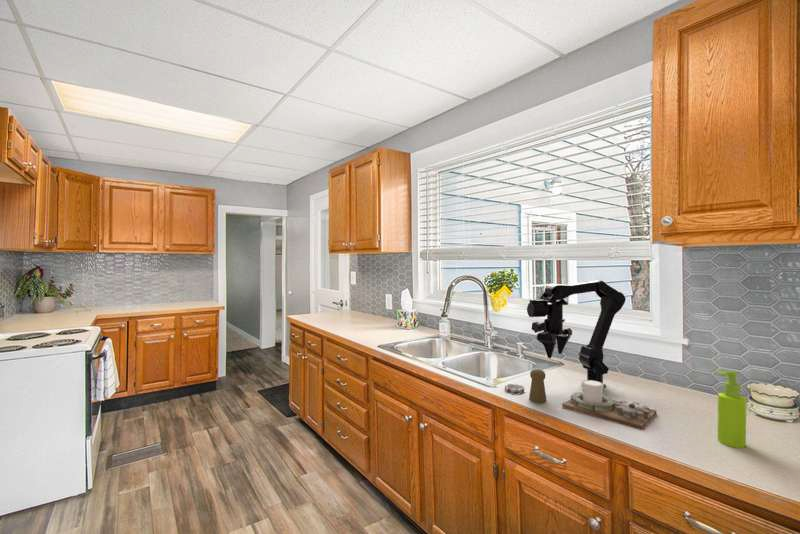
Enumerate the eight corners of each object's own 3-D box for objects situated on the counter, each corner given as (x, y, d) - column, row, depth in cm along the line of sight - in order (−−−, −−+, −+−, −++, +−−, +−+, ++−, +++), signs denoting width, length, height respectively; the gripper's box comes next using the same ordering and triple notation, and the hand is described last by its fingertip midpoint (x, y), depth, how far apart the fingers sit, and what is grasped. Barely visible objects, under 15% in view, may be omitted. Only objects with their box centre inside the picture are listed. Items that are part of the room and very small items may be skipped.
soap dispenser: (708, 438, 108) (709, 368, 107) (731, 437, 108) (731, 367, 108) (728, 448, 102) (729, 375, 101) (751, 447, 102) (752, 374, 102)
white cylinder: (578, 403, 131) (578, 383, 131) (585, 397, 136) (585, 378, 136) (600, 408, 126) (600, 387, 126) (606, 402, 131) (606, 382, 131)
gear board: (580, 395, 142) (581, 384, 142) (656, 414, 124) (656, 402, 124) (562, 407, 131) (562, 395, 131) (642, 429, 113) (642, 416, 113)
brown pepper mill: (548, 404, 134) (548, 373, 133) (530, 402, 135) (530, 372, 135) (545, 397, 140) (545, 368, 139) (527, 396, 141) (527, 367, 141)
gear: (507, 386, 152) (506, 382, 152) (525, 389, 149) (525, 385, 149) (503, 392, 146) (503, 388, 146) (522, 395, 143) (522, 391, 142)
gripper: (545, 311, 160) (546, 348, 161) (523, 316, 148) (523, 356, 148) (572, 314, 152) (572, 352, 153) (551, 320, 140) (551, 362, 140)
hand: (554, 355), depth 149 cm, fingers open, 9 cm apart
